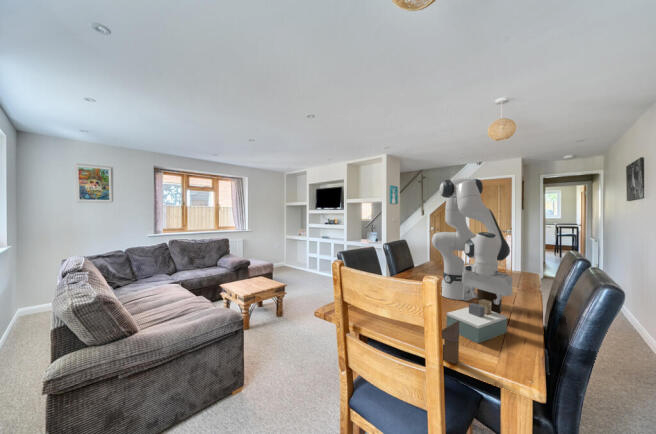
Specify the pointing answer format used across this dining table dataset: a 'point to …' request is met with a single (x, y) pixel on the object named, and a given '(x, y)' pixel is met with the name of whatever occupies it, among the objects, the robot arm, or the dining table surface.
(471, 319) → the lid
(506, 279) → the robot arm
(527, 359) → the dining table surface
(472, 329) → the open box
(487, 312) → the tan rectangular block
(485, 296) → the olive oil
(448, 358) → the wooden block
